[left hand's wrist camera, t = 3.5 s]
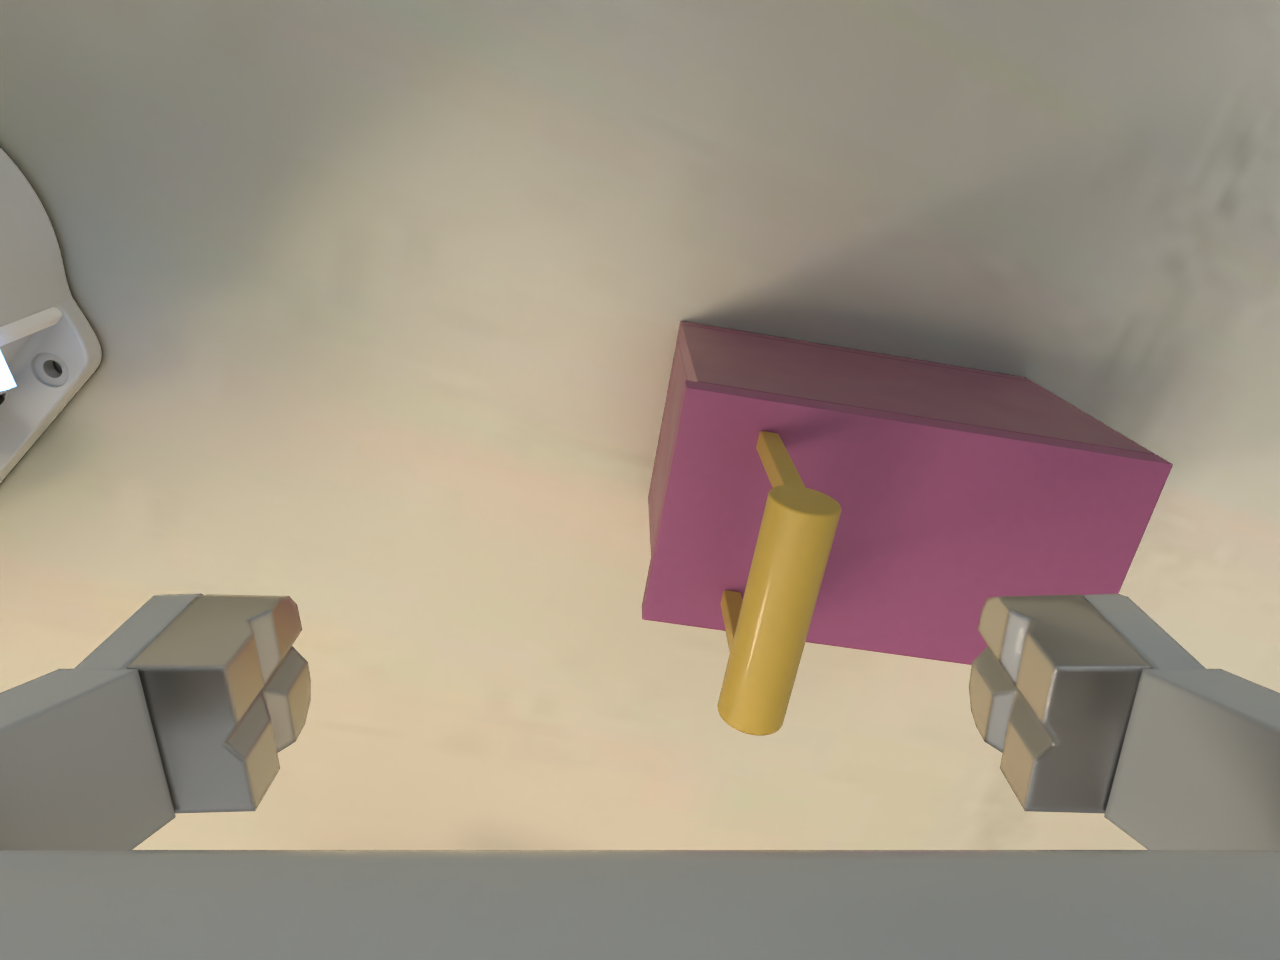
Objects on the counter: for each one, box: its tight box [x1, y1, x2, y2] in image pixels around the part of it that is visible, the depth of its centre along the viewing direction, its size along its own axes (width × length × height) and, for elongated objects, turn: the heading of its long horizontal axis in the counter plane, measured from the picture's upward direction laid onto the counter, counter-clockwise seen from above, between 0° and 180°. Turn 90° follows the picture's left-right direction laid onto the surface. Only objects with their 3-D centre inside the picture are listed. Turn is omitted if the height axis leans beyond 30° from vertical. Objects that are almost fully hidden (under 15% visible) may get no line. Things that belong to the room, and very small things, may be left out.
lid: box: [642, 380, 1172, 735], centre depth 29 cm, size 18×10×9 cm, turn 81°
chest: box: [648, 321, 1155, 556], centre depth 38 cm, size 18×10×11 cm, turn 81°
